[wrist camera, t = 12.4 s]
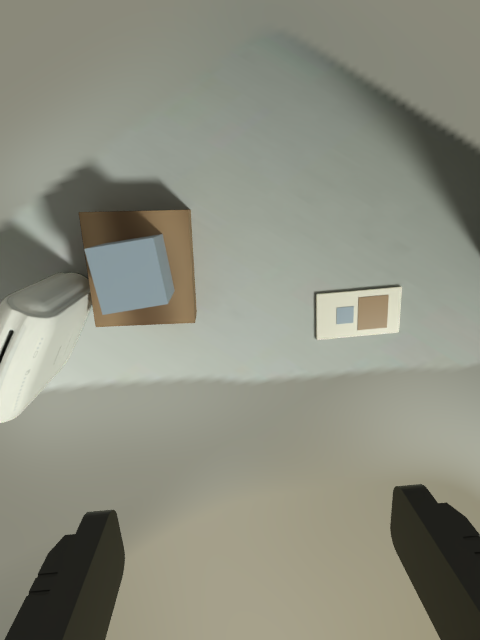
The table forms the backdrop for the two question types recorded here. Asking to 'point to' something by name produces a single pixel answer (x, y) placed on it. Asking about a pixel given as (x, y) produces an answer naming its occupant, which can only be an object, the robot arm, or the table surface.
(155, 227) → the base brick
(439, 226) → the table surface
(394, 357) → the table surface
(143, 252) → the top brick
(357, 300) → the page
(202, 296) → the table surface
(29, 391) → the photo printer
